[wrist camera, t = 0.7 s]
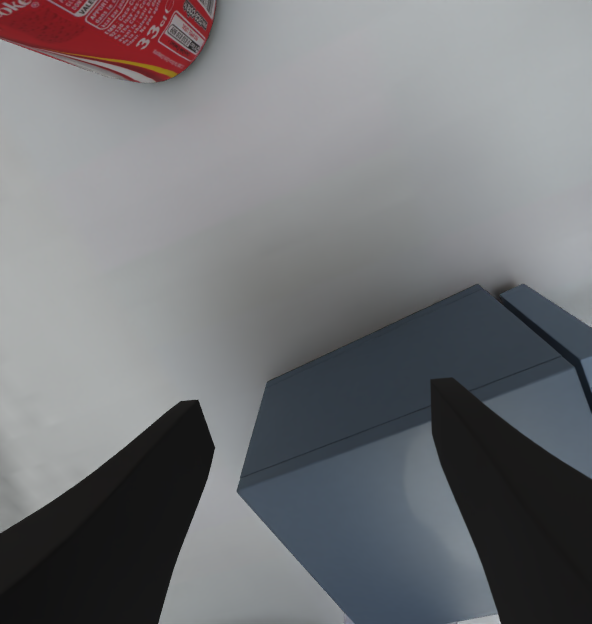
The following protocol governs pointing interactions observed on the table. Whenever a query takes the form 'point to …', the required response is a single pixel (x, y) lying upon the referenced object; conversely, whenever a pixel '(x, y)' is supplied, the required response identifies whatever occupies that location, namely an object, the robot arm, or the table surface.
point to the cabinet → (402, 456)
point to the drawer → (555, 330)
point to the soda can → (112, 34)
